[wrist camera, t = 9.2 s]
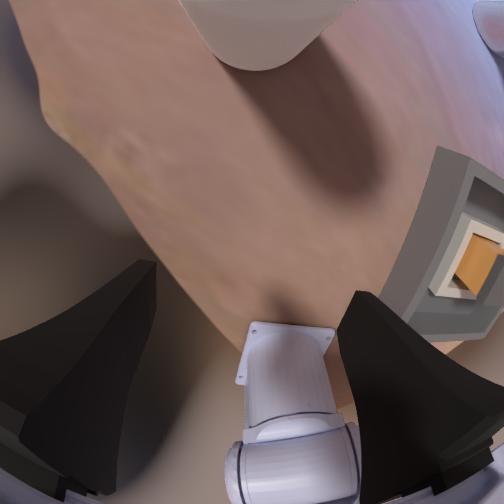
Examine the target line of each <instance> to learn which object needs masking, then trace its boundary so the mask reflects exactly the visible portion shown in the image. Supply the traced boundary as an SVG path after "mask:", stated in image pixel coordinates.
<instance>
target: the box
mask: <svg viewBox="0 0 504 504" xmlns="http://www.w3.org/2000/svg"><path fill="white" fill-rule="evenodd" d="M473 233H476V234H478V235H481V236H483V237H486V238H488V239H491V240H492V241H494V242H495V243H496V244H497V245H499V246H500V247H501V248H502V249H503V250H504V180H503V179H502V178H500V177H499V176H498V175H496V174H495V173H493V172H492V171H490V170H489V169H487V168H486V167H484V166H483V165H481V164H480V163H478V162H477V161H475V160H474V159H472V158H470V157H468V156H465V155H462V154H460V153H457V152H454V151H451V150H448V149H445V148H442V147H439V146H437V149H436V152H435V156H434V159H433V163H432V166H431V170H430V173H429V176H428V179H427V182H426V185H425V189H424V192H423V194H422V197H421V200H420V203H419V206H418V209H417V211H416V214H415V217H414V219H413V222H412V225H411V227H410V230H409V232H408V235H407V237H406V239H405V242H404V244H403V247H402V249H401V251H400V254H399V256H398V258H397V260H396V263H395V265H394V267H393V269H392V271H391V273H390V276H389V278H388V280H387V282H386V284H385V286H384V288H383V290H382V292H381V294H380V296H379V298H378V299H380V300H381V301H382V302H383V303H384V304H386V305H387V306H388V307H389V308H390V309H391V310H392V311H393V312H395V313H396V314H397V315H398V316H399V317H400V318H401V319H402V320H404V321H405V322H406V323H407V324H408V325H409V326H410V327H411V328H412V329H414V330H415V331H416V332H417V333H418V334H419V335H421V336H422V337H423V338H424V339H425V340H427V341H428V342H446V341H462V340H473V339H483V338H484V337H485V336H486V334H487V333H488V331H489V330H490V329H491V327H492V326H493V324H494V323H495V321H496V320H497V318H498V317H499V315H500V313H501V312H502V310H503V309H504V307H501V306H482V305H481V304H480V303H479V301H478V300H477V299H476V296H475V295H474V293H473V292H472V291H471V290H470V289H469V288H468V287H467V286H466V285H465V284H464V282H463V281H462V280H461V279H460V278H459V277H458V276H457V275H456V274H455V271H456V269H457V267H458V265H459V263H460V261H461V259H462V257H463V255H464V252H465V250H466V248H467V246H468V244H469V241H470V239H471V237H472V234H473Z"/></svg>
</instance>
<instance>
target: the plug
mask: <svg viewBox="0 0 504 504" xmlns="http://www.w3.org/2000/svg"><path fill="white" fill-rule="evenodd" d="M455 274H456V275H457V276H458V277H459V278H460V279H461V280H462V281H463V282H464V284H465V285H466V286H467V287H468V288H469V289H470V290H471V291H472V292H473V293H474V295H475V296H476V299H477V300H478V301H479V303H480V304H481V305H482V306H501V307H504V250H503V249H502V248H501V247H500V246H499V245H497V244H496V243H495V242H494V241H492V240H491V239H488V238H486V237H483V236H481V235H478V234H476V233H473V234H472V237H471V239H470V241H469V244H468V246H467V248H466V250H465V252H464V255H463V257H462V259H461V261H460V263H459V265H458V267H457V269H456V271H455Z"/></svg>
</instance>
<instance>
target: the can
mask: <svg viewBox="0 0 504 504" xmlns="http://www.w3.org/2000/svg"><path fill="white" fill-rule="evenodd" d="M178 1H179V3H180V4H181V6H182V7H183V9H184V10H185V12H186V14H187V15H188V17H189V18H190V20H191V22H192V23H193V25H194V26H195V28H196V30H197V31H198V33H199V34H200V36H201V38H202V39H203V41H204V42H205V44H206V45H207V47H208V48H209V50H210V51H211V52H212V53H213V54H214V55H215V56H216V57H217V58H218V59H220V60H221V61H223V62H224V63H226V64H228V65H230V66H232V67H235V68H238V69H243V70H249V71H262V70H269V69H273V68H276V67H279V66H281V65H283V64H285V63H287V62H289V61H290V60H292V59H293V58H294V57H295V56H297V55H298V54H299V53H300V52H301V51H302V50H303V49H304V48H305V47H306V46H307V45H309V44H310V43H311V42H312V41H313V40H314V39H315V38H316V37H317V36H318V35H319V34H320V33H322V32H323V31H324V30H325V29H326V28H327V27H328V26H329V25H331V24H332V23H333V22H334V21H335V20H336V19H337V18H339V17H340V16H341V15H342V14H343V13H344V12H345V11H347V10H348V9H349V8H350V7H351V6H352V5H353V4H354V3H355V2H356V1H358V0H178Z"/></svg>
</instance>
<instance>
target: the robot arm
mask: <svg viewBox="0 0 504 504" xmlns="http://www.w3.org/2000/svg"><path fill="white" fill-rule="evenodd" d="M156 308H157V307H156V262H153V261H147V260H142V259H139V260H138V261H136V262H135V263H133V264H132V265H131V266H129V267H128V268H127V269H125V270H124V271H123V272H121V273H120V274H119V275H117V276H116V277H115V278H113V279H112V280H111V281H109V282H108V283H107V284H105V285H104V286H103V287H101V288H100V289H98V290H97V291H95V292H94V293H92V294H91V295H90V296H88V297H86V298H85V299H84V300H82V301H81V302H79V303H78V304H76V305H74V306H73V307H71V308H70V309H68V310H66V311H64V312H63V313H61V314H59V315H57V316H55V317H54V318H52V319H50V320H48V321H46V322H44V323H41V324H39V325H37V326H35V327H33V328H31V329H29V330H27V331H25V332H22V333H19V334H17V335H14V336H12V337H9V338H6V339H3V340H1V341H0V504H104V503H102V502H99V501H96V500H93V499H90V498H87V497H86V495H87V493H90V494H92V495H95V496H97V495H98V493H100V494H103V495H110V494H112V493H114V492H116V475H117V461H118V452H119V443H120V436H121V430H122V424H123V418H124V412H125V407H126V402H127V398H128V393H129V390H130V386H131V383H132V380H133V377H134V374H135V371H136V369H137V366H138V363H139V361H140V358H141V355H142V353H143V350H144V347H145V345H146V342H147V340H148V337H149V334H150V331H151V328H152V324H153V319H154V316H155V312H156ZM253 330H256V331H253ZM334 335H335V331H334V329H333V328H322V327H309V326H298V325H287V324H277V323H268V322H259V321H254V322H252V323H251V324H250V327H249V331H248V334H247V338H246V342H245V346H244V349H243V353H242V357H241V360H240V364H239V368H238V372H237V375H236V379H235V383H236V384H240V385H245V428H246V429H243V441H236V442H235V443H234V444H233V446H232V447H231V448H230V449H229V451H228V453H227V455H226V460H225V483H226V489H227V493H228V496H229V499H230V501H231V502H232V504H382V503H385V502H388V501H391V500H394V499H397V498H400V497H402V498H400V499H397V500H395V501H392V502H389V503H386V504H504V443H503V444H501V445H500V446H498V447H497V448H495V449H494V450H493V451H490V448H489V447H490V446H491V445H492V444H493V439H492V436H493V435H494V434H495V433H497V432H498V431H499V430H500V429H501V428H502V427H504V387H503V386H501V385H498V384H495V383H493V382H491V381H489V380H487V379H484V378H482V377H480V376H478V375H476V374H475V373H473V372H471V371H469V370H468V369H466V368H464V367H463V366H461V365H459V364H458V363H456V362H455V361H453V360H452V359H450V358H449V357H447V356H446V355H445V354H443V353H442V352H441V351H439V350H438V349H437V348H435V347H434V346H433V345H431V344H430V343H429V342H428V341H427V340H425V339H424V338H423V337H422V336H421V335H419V334H418V333H417V332H416V331H415V330H414V329H412V328H411V327H410V326H409V325H408V324H407V323H406V322H405V321H404V320H402V319H401V318H400V317H399V316H398V315H397V314H396V313H395V312H393V311H392V310H391V309H390V308H389V307H388V306H387V305H386V304H384V303H383V302H382V301H381V300H380V299H378V298H377V297H376V296H374V295H373V294H372V293H370V292H365V291H357V290H356V291H355V294H354V296H353V298H352V300H351V302H350V304H349V306H348V308H347V310H346V312H345V314H344V316H343V318H342V320H341V322H340V324H339V326H338V328H337V336H338V343H339V348H340V354H341V357H342V361H343V364H344V367H345V371H346V374H347V377H348V380H349V384H350V387H351V391H352V394H353V397H354V401H355V405H356V410H357V416H358V423H359V426H357V425H355V423H353V422H350V423H346V424H344V419H343V415H342V413H337V409H336V405H335V401H334V397H333V393H332V389H331V385H330V381H329V377H328V374H327V370H326V366H325V362H324V359H323V356H324V354H325V352H326V350H327V348H328V347H329V345H330V343H331V341H332V339H333V337H334ZM328 336H329V337H328Z"/></svg>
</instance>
